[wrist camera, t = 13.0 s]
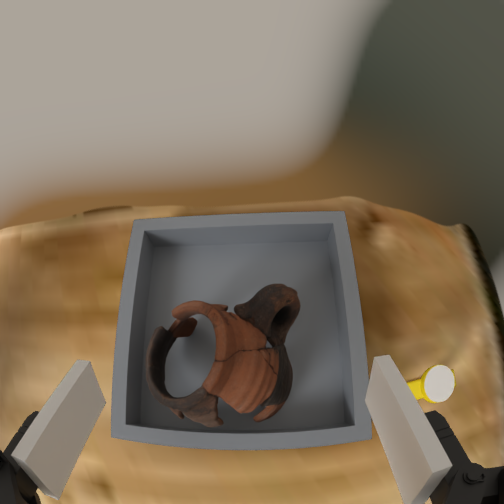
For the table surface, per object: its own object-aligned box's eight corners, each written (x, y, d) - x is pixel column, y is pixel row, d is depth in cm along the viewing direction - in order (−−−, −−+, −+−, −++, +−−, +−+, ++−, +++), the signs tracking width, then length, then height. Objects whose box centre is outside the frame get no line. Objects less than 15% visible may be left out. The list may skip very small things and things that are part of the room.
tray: (132, 434, 22) (111, 437, 18) (147, 241, 30) (134, 219, 27) (356, 434, 21) (371, 438, 17) (335, 235, 30) (344, 211, 26)
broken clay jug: (253, 453, 20) (176, 453, 15) (191, 381, 27) (120, 358, 21) (351, 331, 22) (307, 287, 16) (269, 279, 28) (212, 230, 23)
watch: (428, 368, 23) (468, 354, 18) (433, 397, 22) (474, 389, 17) (371, 382, 23) (404, 373, 18) (375, 414, 22) (410, 412, 16)
